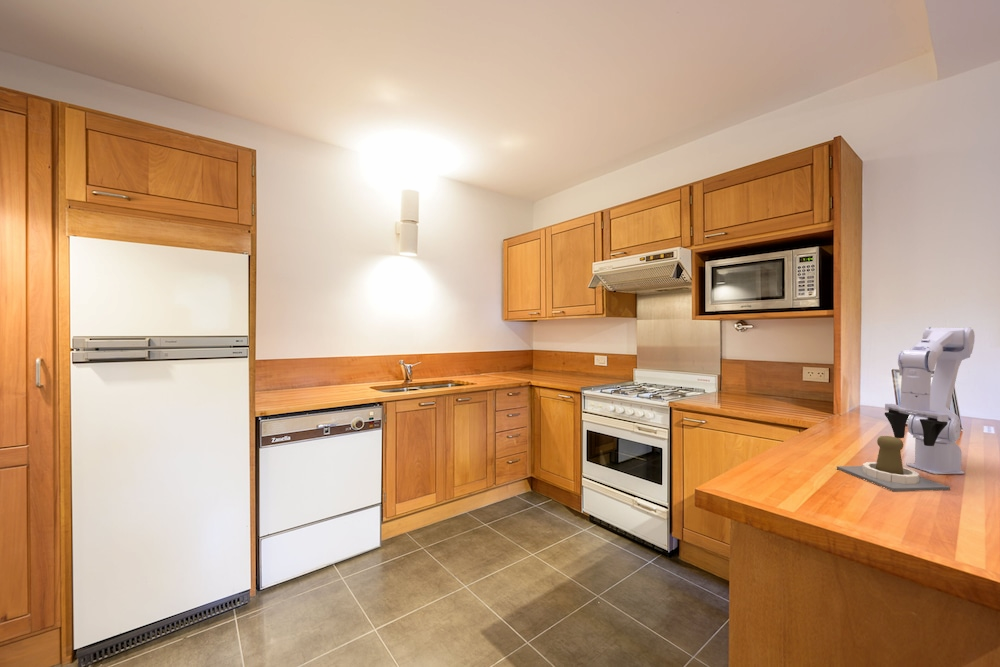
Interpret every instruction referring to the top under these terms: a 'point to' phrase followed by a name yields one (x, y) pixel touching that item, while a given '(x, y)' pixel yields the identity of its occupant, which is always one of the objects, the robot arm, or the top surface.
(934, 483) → the ring stand
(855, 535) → the top surface
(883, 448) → the cork
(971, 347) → the robot arm
